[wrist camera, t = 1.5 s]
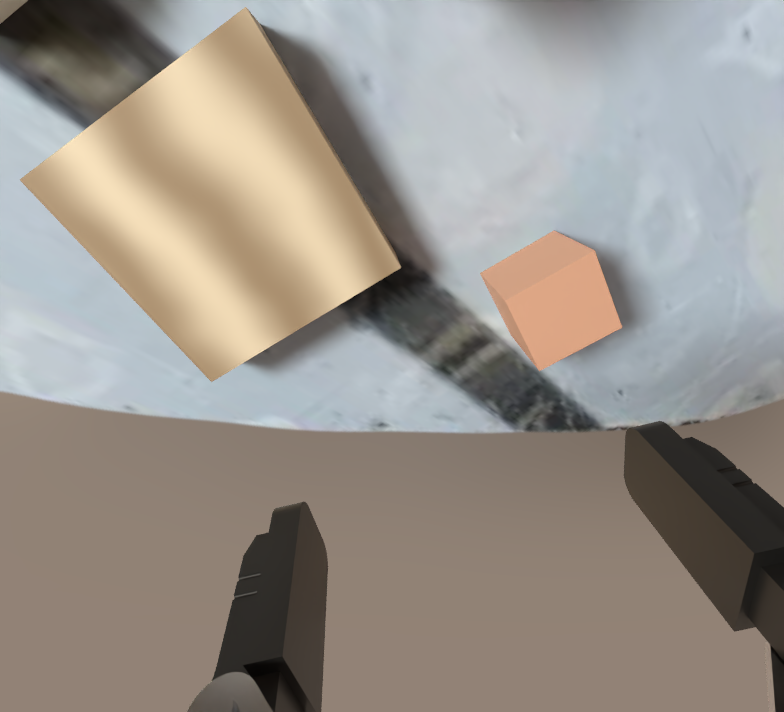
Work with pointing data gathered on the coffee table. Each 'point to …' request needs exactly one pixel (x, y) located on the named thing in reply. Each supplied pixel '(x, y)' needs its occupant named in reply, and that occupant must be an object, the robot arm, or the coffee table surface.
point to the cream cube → (9, 8)
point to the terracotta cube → (552, 298)
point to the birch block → (218, 202)
